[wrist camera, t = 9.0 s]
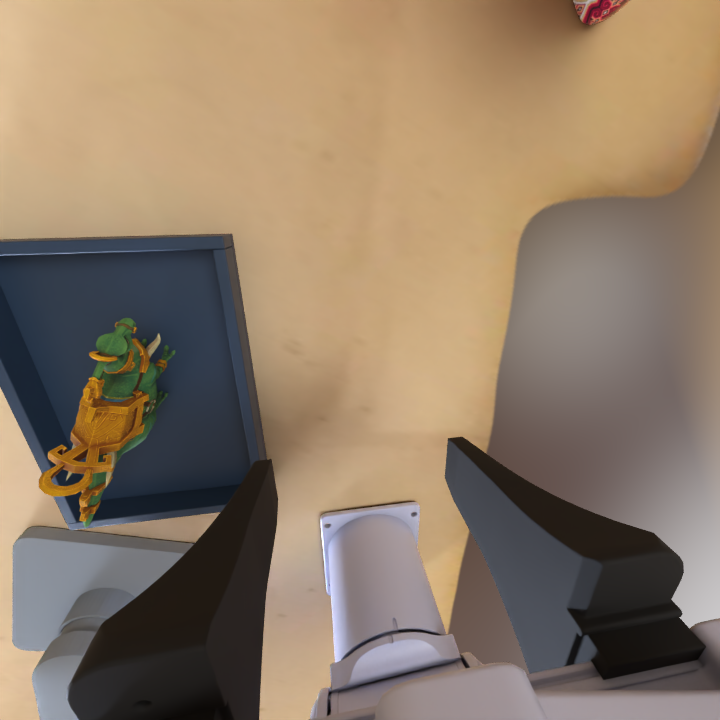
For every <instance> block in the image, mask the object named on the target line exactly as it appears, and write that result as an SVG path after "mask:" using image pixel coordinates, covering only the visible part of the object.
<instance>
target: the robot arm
mask: <svg viewBox="0 0 720 720" xmlns="http://www.w3.org/2000/svg"><path fill="white" fill-rule="evenodd" d="M445 479H446V482H447V484H448V487H449V490H450V492H451V495H452V497H453V500H454V502H455V504H456V506H457V507H458V509H459V511H460V513H461V515H462V517H463V519H464V520H465V522H466V524H467V526H468V528H469V530H470V531H471V533H472V535H473V537H474V539H475V541H476V542H477V544H478V546H479V548H480V550H481V552H482V554H483V556H484V558H485V560H486V562H487V564H488V567H489V569H490V571H491V574H492V576H493V579H494V581H495V583H496V586H497V588H498V590H499V593H500V596H501V598H502V600H503V603H504V605H505V608H506V610H507V613H508V616H509V618H510V621H511V623H512V626H513V629H514V631H515V634H516V636H517V639H518V642H519V645H520V647H521V650H522V653H523V656H524V659H525V662H526V665H527V667H528V670H529V673H530V674H526V673H525V671H524V670H523V669H521V668H520V667H518V666H516V665H514V664H511V663H509V662H504V663H503V662H502V663H490V664H485V665H483V664H482V663H481V662H480V661H479V660H477V659H476V658H475V657H474V656H473V654H471V653H470V652H465V653H462V654H459V651H458V648H457V645H456V642H455V639H454V636H453V635H452V634H448V635H446V632H445V629H444V626H443V623H442V620H441V617H440V614H439V611H438V608H437V605H436V602H435V599H434V596H433V593H432V590H431V587H430V584H429V581H428V578H427V575H426V572H425V569H424V566H423V563H422V560H421V557H420V554H419V551H418V548H417V546H418V532H419V517H420V506H419V504H418V503H417V502H407V503H399V504H392V505H384V506H376V507H368V508H360V509H352V510H344V511H336V512H329V513H324V514H323V515H322V516H321V531H322V543H323V554H324V566H325V578H326V590H327V594H328V595H330V596H331V604H332V619H333V635H334V651H335V663H332V664H331V665H330V674H331V687H328V688H324V689H321V690H320V692H319V694H318V698H317V700H316V701H315V703H314V705H313V707H312V710H311V715H310V719H309V720H720V618H719V619H714V620H709V621H704V622H700V623H697V624H695V625H694V626H692V627H691V628H690V629H689V628H688V627H687V625H685V623H684V622H683V621H682V620H681V619H680V618H679V617H681V615H682V611H681V610H680V609H679V607H678V606H677V605H675V603H674V602H673V601H672V600H671V598H672V597H673V595H674V593H675V591H676V589H677V587H678V585H679V583H680V581H681V579H682V576H683V573H684V572H683V571H684V570H683V562H682V560H681V558H680V557H679V556H678V555H677V554H676V553H675V552H674V551H673V550H672V549H670V548H669V547H668V546H667V545H666V544H665V543H664V542H663V541H662V540H661V539H660V538H658V537H657V536H656V535H655V534H654V533H652V532H649V531H646V530H642V529H639V528H636V527H633V526H630V525H626V524H623V523H620V522H617V521H614V520H611V519H609V518H606V517H603V516H600V515H598V514H595V513H593V512H590V511H588V510H585V509H583V508H580V507H578V506H576V505H574V504H572V503H569V502H567V501H565V500H562V499H561V498H558V497H556V496H554V495H552V494H550V493H549V492H547V491H545V490H543V489H541V488H539V487H537V486H535V485H534V484H532V483H530V482H528V481H527V480H525V479H523V478H522V477H520V476H518V475H517V474H515V473H513V472H512V471H511V470H509V469H507V468H506V467H504V466H503V465H501V464H500V463H499V462H497V461H496V460H494V459H493V458H491V457H490V456H489V455H487V454H486V453H484V452H483V451H482V450H480V449H479V448H477V447H476V446H475V445H473V444H472V443H470V442H469V441H468V440H466V439H465V438H463V437H456V438H448V445H447V457H446V469H445ZM277 511H278V496H277V490H276V484H275V478H274V472H273V466H272V460H271V459H267V460H259V461H255V462H254V463H253V464H252V466H251V468H250V469H249V471H248V473H247V474H246V476H245V478H244V479H243V481H242V483H241V484H240V486H239V487H238V489H237V490H236V492H235V493H234V495H233V496H232V497H231V499H230V500H229V502H228V503H227V505H226V506H225V507H224V509H223V510H222V511H221V513H220V514H219V515H218V516H217V518H216V519H215V520H214V522H213V523H212V524H211V525H210V527H209V528H208V529H207V530H206V531H205V533H204V534H203V535H202V536H201V537H200V538H199V539H198V540H197V542H196V543H195V544H194V545H193V546H192V547H191V548H190V549H189V550H188V551H187V552H186V553H185V554H184V555H183V556H182V557H181V558H180V559H179V560H178V561H177V562H176V563H175V564H174V565H173V566H172V567H171V568H170V569H169V570H168V571H167V572H165V573H164V574H163V575H162V576H161V577H160V578H159V579H158V580H156V581H155V582H154V583H153V584H152V585H150V586H149V587H148V588H147V589H146V590H145V591H143V592H142V593H141V594H140V595H138V596H137V597H136V598H135V599H133V600H132V601H131V602H129V603H128V604H127V605H125V606H124V607H123V608H121V609H120V610H119V611H118V612H116V613H115V614H114V615H112V616H111V617H110V618H108V619H107V620H105V621H104V622H103V623H102V624H101V626H100V628H99V629H98V631H97V633H96V634H95V636H94V637H93V639H92V641H91V642H90V644H89V646H88V648H87V650H86V652H85V654H84V656H83V658H82V660H81V662H80V664H79V665H78V667H77V669H76V671H75V673H74V675H73V677H72V679H71V681H70V683H69V685H68V687H67V693H66V698H67V700H68V703H69V705H70V708H71V709H72V711H73V712H74V714H75V715H76V717H77V718H78V719H79V720H259V706H260V684H261V663H262V646H263V629H264V614H265V600H266V591H267V583H268V577H269V570H270V564H271V558H272V552H273V546H274V539H275V533H276V527H277ZM412 512H414V513H412ZM327 523H329V524H327Z"/></svg>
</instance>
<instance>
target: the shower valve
mask: <svg viewBox="0 0 720 720" xmlns="http://www.w3.org/2000/svg"><path fill="white" fill-rule="evenodd" d="M193 545H194V544H193V543H184V542H175V541H166V540H157V539H148V538H140V537H131V536H122V535H113V534H104V533H95V532H87V531H78V530H69V529H60V528H51V527H42V526H37V527H30V528H28V529H27V530H25V532H24V533H23V534H22V535H21V536H20V537H19V538H18V539H17V540H16V542H15V543H14V545H13V636H12V641H13V644H14V646H15V647H17V648H19V649H22V650H27V651H45V653H44V654H43V656H42V658H41V659H40V661H39V663H38V664H37V666H36V668H35V669H34V672H33V675H32V682H33V687H34V692H35V696H36V701H37V706H38V712H39V717H40V720H79V719H78V718H77V717H76V715H75V714H74V712H73V711H72V709H71V708H70V705H69V703H68V700H67V698H66V693H67V687H68V685H69V683H70V681H71V679H72V677H73V675H74V673H75V671H76V669H77V667H78V665H79V664H80V662H81V660H82V658H83V656H84V654H85V652H86V650H87V648H88V646H89V644H90V642H91V641H92V639H93V637H94V636H95V634H96V633H97V631H98V629H99V628H100V626H101V624H102V623H103V622H104V621H105V620H107V619H108V618H110V617H111V616H112V615H114V614H115V613H116V612H118V611H119V610H120V609H121V608H123V607H124V606H125V605H127V604H128V603H129V602H131V601H132V600H133V599H135V598H136V597H137V596H138V595H140V594H141V593H142V592H143V591H145V590H146V589H147V588H148V587H149V586H150V585H152V584H153V583H154V582H155V581H156V580H158V579H159V578H160V577H161V576H162V575H163V574H164V573H165V572H167V571H168V570H169V569H170V568H171V567H172V566H173V565H174V564H175V563H176V562H177V561H178V560H179V559H180V558H181V557H182V556H183V555H184V554H185V553H186V552H187V551H188V550H189V549H190V548H191V547H192V546H193Z"/></svg>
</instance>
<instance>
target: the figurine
mask: <svg viewBox="0 0 720 720" xmlns="http://www.w3.org/2000/svg"><path fill="white" fill-rule="evenodd" d="M135 325H136V323H135V322H134V321H133V320H132V319H131V318H124V319H122V320H120V321H119V322H116V324H115V327H116V330H115V331H114V332H113V333H108V334H104V335H102V336H100V337H99V338H98V340H97V342H96V347H97V350H98V351H92V352H90V353H89V355H90V356H91V358H93V359H95V360H98V363H97V366H96V368H95V370H94V373H93V375H92V377H91V378H89V382H88V384H87V385H86V387H85V388H84V389H83V396H82V398H81V400H80V402H79V403H80V406H79V411H78V414H77V418H76V424H75V426H74V428H73V430H72V432H71V439H70V440H71V441H72V442H73V446H72V450H70V451H68V452H67V448H66V447H65V446H63V445H60V446H58V447H57V448H55V449H53V450H51V451H49V452H48V459H49V460H51V461H52V462H53V463H55V464H56V466H55V467H53V468H51V469H49V470H47V471H45V472H44V473H42V475H41V477H40V479H39V488H40V489H41V490H42V491H43V492H44V493H46V494H48V495H51V496H68V495H72V494H76V493H78V492H80V491H82V493H83V494H82V495H81V496H80V498H79V504H80V506H81V508H80V512H81V516H80V520H79V521H83V524H84V527H85V528H86V527H88V526H89V525H90V523H91V521H92V519H93V516H94V514H95V512H96V510H97V509H98V507H99V505H100V502H101V500H100V498H101V496H102V493H103V491H104V489H105V487H107V485H108V484H109V483H110V481H111V480H112V478H113V476H112V473H113V471H114V468H115V465H116V463H117V462H118V460H119V459H120V457H121V456H122V454H123V453H125V452H127V451H129V450H130V449H132V448H134V447H136V446H137V445H138V444H140V443H141V442H142V441H144V440H145V439H146V437H147V435H148V434H149V432H150V430H151V429H152V427H153V425H154V423H155V421H156V412H155V411H156V409H157V408H158V406H159V405H160V404H161V402H162V401H163V400H164V399H165V398H166V397H167V395H168V393H164V396H163V397H162V394H163V392H162V391H160V392H159V393H157V385H156V379H158V378H159V376H160V375H161V373H162V372H164V370H165V368H166V367H167V361H168V360H169V359H170V358H171V357H172V356H173V355H174V354H175V350H174V351H172V352H171V353H170V354H169V353H168V350H169V347H168V346H167V345H166V346H165V347H164V352H163V355H162V359H161V360H160V359H159V360H158V361H157V363H156V365H155V364H154V363H151V362H149V359H150V357H151V355H152V354H153V352H154V351H155V350H156V348H157V347H158V345H159V344H160V335H159V334H158V336H157V338H156V339H155V340H154V341H153V342H152V343H151V344H150V345H148V347H147V348H146V349H145V346H146V344H147V340H146V339H143V340H142V342H141V343H140V341H139V340H138V339H136V338H134V339H132V338H131V333H135V332H136V330H137V328H136V326H135ZM85 457H86V462H79V461H80V460H82V459H84V458H85ZM62 469H64V470H67V471H69V472H68V476H67V479H68V478H69V477H70V476H71V475H72V473H82V474H84V477H83V479H82V480H81V481H80V482H78V483H76V484H73V485H70V486H58V485H54V484H53V483H52V481H51V480H52V479H53V477H54V476H55V475H56V474H58V473H59V472H60V471H61V470H62ZM67 479H66V480H67Z"/></svg>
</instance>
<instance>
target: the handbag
mask: <svg viewBox="0 0 720 720" xmlns="http://www.w3.org/2000/svg"><path fill="white" fill-rule="evenodd" d="M630 1H631V0H573V2H574V6H575V8H576V11H577V14H578V16H579V18H580V20H581V21H582V22H583V23H584V24H587V25H593V24H597V23H600V22H602V21H604V20H606V19H608V18H609V17H611V16H612V15H614V14H615V13H617V12H618V11H619V10H620V9H622V8H623V7H624V6H625V5H627V4H628V3H629V2H630Z"/></svg>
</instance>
